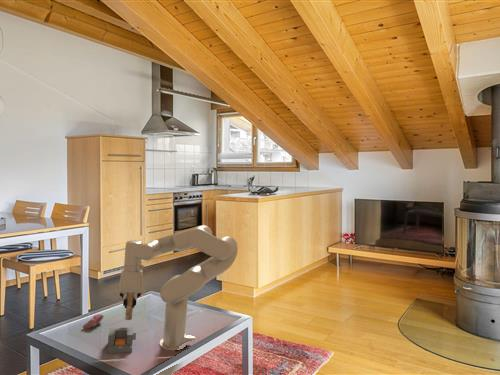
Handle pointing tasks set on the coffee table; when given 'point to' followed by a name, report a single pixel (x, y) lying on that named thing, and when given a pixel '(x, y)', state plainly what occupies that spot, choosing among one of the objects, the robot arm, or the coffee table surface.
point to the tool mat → (134, 336)
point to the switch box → (119, 334)
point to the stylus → (129, 306)
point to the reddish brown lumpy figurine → (93, 321)
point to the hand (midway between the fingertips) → (129, 306)
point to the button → (120, 342)
